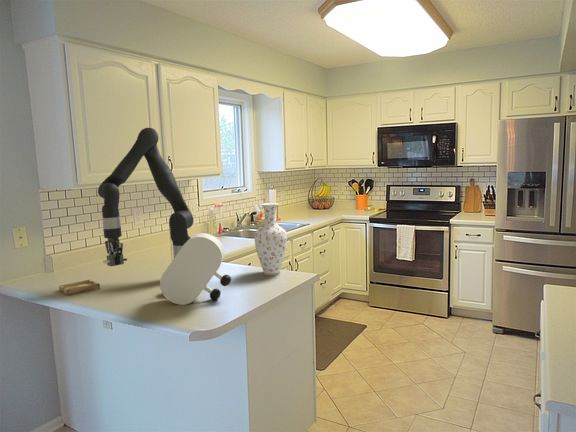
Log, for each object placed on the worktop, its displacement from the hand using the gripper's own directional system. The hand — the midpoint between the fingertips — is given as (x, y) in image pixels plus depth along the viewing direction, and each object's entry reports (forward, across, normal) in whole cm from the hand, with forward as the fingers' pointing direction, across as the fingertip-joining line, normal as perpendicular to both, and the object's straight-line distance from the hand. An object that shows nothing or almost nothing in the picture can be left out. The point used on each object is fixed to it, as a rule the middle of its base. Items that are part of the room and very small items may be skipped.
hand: (115, 263), depth 204 cm
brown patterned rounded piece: (+12, -30, -11) cm, 34 cm away
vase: (+13, -39, -62) cm, 74 cm away
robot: (+12, -46, -13) cm, 49 cm away
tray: (+11, +10, +14) cm, 20 cm away
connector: (+1, 0, 0) cm, 1 cm away
